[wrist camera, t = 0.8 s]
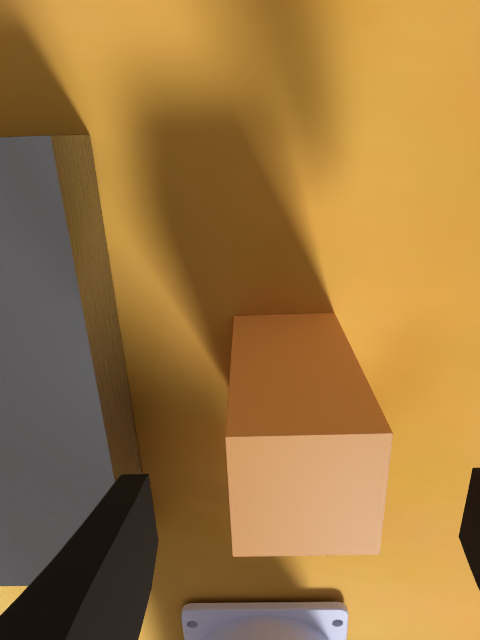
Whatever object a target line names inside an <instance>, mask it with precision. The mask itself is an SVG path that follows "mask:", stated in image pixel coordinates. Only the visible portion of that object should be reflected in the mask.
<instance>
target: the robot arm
mask: <svg viewBox="0 0 480 640" xmlns="http://www.w3.org/2000/svg"><path fill="white" fill-rule="evenodd" d="M459 538H460V541H461V544H462V547H463V549H464V552H465V555H466V558H467V560H468V563H469V566H470V568H471V571H472V573H473V576H474V578H475V581H476V583H477V586H478V588H479V590H480V468H473V469H472V474H471V479H470V484H469V489H468V494H467V499H466V504H465V508H464V513H463V518H462V523H461V528H460V533H459ZM157 547H158V535H157V528H156V521H155V515H154V508H153V501H152V495H151V488H150V481H149V475H148V474H122V475H121V476H120V477H119V478H118V479H117V480H116V481H115V482H114V484H113V485H112V486H111V488H110V489H109V490H108V492H107V493H106V494H105V496H104V497H103V498H102V499H101V501H100V502H99V503H98V505H97V506H96V507H95V508H94V510H93V511H92V512H91V513H90V515H89V516H88V517H87V519H86V520H85V521H84V522H83V524H82V525H81V526H80V527H79V528H78V530H77V531H76V532H75V533H74V534H73V536H72V537H71V538H70V539H69V540H68V542H67V543H66V544H65V545H64V546H63V548H62V549H61V550H60V551H59V552H58V554H57V555H56V556H55V557H54V558H53V559H52V561H51V562H50V563H49V564H48V565H47V566H46V567H45V568H44V569H43V571H42V572H41V573H40V574H39V575H38V576H37V577H36V578H35V579H34V580H33V582H32V583H31V584H30V585H29V586H28V587H27V588H26V589H25V590H24V591H23V593H22V594H21V595H20V596H19V597H18V598H17V599H16V600H15V601H14V602H13V603H12V604H11V605H10V606H9V607H8V608H7V609H6V610H5V611H4V612H3V613H2V614H1V615H0V640H138V638H139V635H140V631H141V627H142V623H143V619H144V615H145V611H146V607H147V603H148V599H149V595H150V591H151V587H152V580H153V574H154V568H155V561H156V554H157ZM181 618H182V626H183V633H184V640H347V628H348V610H347V606H346V605H345V604H344V603H341V602H255V603H189V604H186V605H185V606H184V607H183V608H182V615H181Z"/></svg>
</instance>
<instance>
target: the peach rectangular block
mask: <svg viewBox="0 0 480 640" xmlns="http://www.w3.org/2000/svg"><path fill="white" fill-rule="evenodd" d="M392 436H393V433H392V431H391V429H390V427H389V424H388V422H387V420H386V418H385V416H384V414H383V412H382V410H381V408H380V406H379V404H378V402H377V400H376V398H375V396H374V393H373V391H372V389H371V387H370V385H369V383H368V381H367V379H366V377H365V375H364V373H363V371H362V369H361V367H360V365H359V363H358V360H357V358H356V356H355V354H354V352H353V350H352V348H351V346H350V344H349V342H348V340H347V338H346V336H345V334H344V332H343V329H342V327H341V325H340V323H339V321H338V319H337V317H336V315H335V313H309V314H276V315H243V316H234V323H233V337H232V351H231V365H230V379H229V393H228V407H227V421H226V435H225V440H226V456H227V472H228V488H229V504H230V520H231V536H232V552H233V557H250V556H316V555H379V553H380V544H381V535H382V526H383V517H384V508H385V499H386V490H387V481H388V472H389V463H390V454H391V445H392Z"/></svg>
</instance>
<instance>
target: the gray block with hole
mask: <svg viewBox="0 0 480 640" xmlns="http://www.w3.org/2000/svg"><path fill="white" fill-rule="evenodd" d="M122 474H142V469H141V463H140V456H139V450H138V443H137V437H136V431H135V424H134V418H133V411H132V405H131V398H130V392H129V385H128V379H127V372H126V366H125V359H124V353H123V347H122V340H121V334H120V327H119V321H118V314H117V308H116V301H115V295H114V288H113V282H112V276H111V269H110V263H109V256H108V250H107V243H106V237H105V230H104V224H103V217H102V211H101V205H100V198H99V192H98V185H97V179H96V172H95V166H94V159H93V153H92V146H91V140H90V135H49V136H26V137H2V138H0V586H29V585H30V584H31V583H32V582H33V580H34V579H35V578H36V577H37V576H38V575H39V574H40V573H41V572H42V571H43V569H44V568H45V567H46V566H47V565H48V564H49V563H50V562H51V561H52V559H53V558H54V557H55V556H56V555H57V554H58V552H59V551H60V550H61V549H62V548H63V546H64V545H65V544H66V543H67V542H68V540H69V539H70V538H71V537H72V536H73V534H74V533H75V532H76V531H77V530H78V528H79V527H80V526H81V525H82V524H83V522H84V521H85V520H86V519H87V517H88V516H89V515H90V513H91V512H92V511H93V510H94V508H95V507H96V506H97V505H98V503H99V502H100V501H101V499H102V498H103V497H104V496H105V494H106V493H107V492H108V490H109V489H110V488H111V486H112V485H113V484H114V482H115V481H116V480H117V479H118V478H119V477H120V476H121V475H122Z"/></svg>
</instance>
